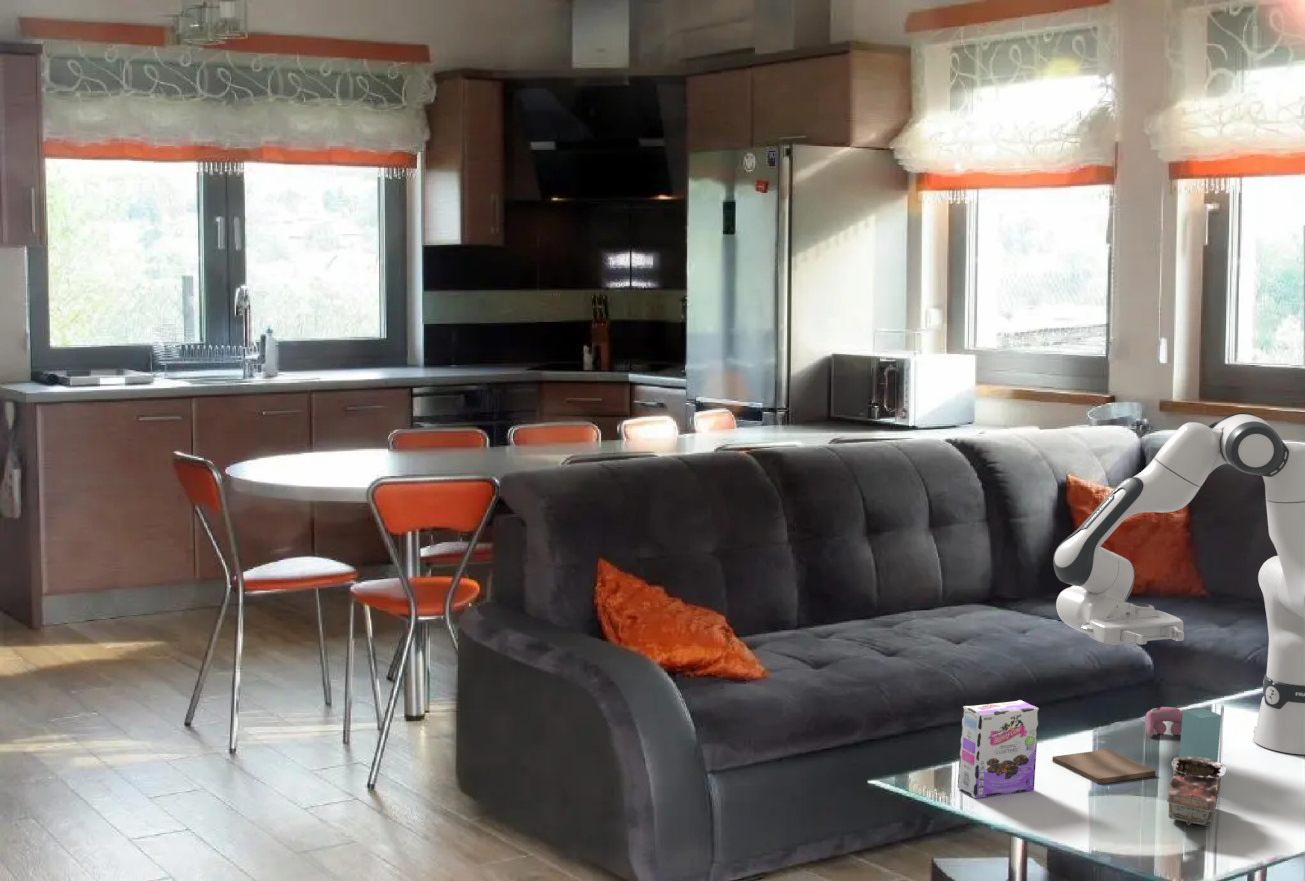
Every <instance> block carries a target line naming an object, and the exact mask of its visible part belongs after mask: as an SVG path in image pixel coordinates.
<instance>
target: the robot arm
mask: <svg viewBox="0 0 1305 881" xmlns="http://www.w3.org/2000/svg"><path fill="white" fill-rule="evenodd" d="M1226 464H1227V465H1230V466H1232V467H1233V468H1234V469H1236V470H1237V471H1240V472H1242V473H1246V474H1249V475H1256V476H1262V478H1263V479H1262V480H1263V483H1264V490H1265V505H1266V514H1267V515H1266V516H1267V517H1266V518H1267V526H1268V528H1267V529H1268V536H1269V538H1270V540H1271V543H1272V544H1273V546H1274V548H1275V550H1276V553H1277V555H1274V556H1272V557H1270V558H1268V559H1267V560H1266V561H1264V562H1263V564H1262V565H1261V567H1260V569H1259V571H1258V576H1257V580H1258V584H1259V588H1260V589H1261V592H1262V596H1263V601H1264V608H1265V613H1266V622H1267V632H1268V650H1267V664H1266V673H1265V674H1264V676H1263V679H1262V680H1263V682H1262V685H1263V686H1262V692H1263V697H1262V698H1261V703H1260V707H1259V712H1258V718H1257V723H1256V726H1254V727H1253V733H1254V734H1253V737H1252V741H1253V742H1254V743H1256V744H1257V745H1258V746H1261V747H1263V748H1266V749H1269V750H1271V751H1277V752H1281V753H1287V754H1292V755H1293V754H1294V755H1303V756H1304V755H1305V444H1303V443H1299V442H1298V443H1296V442H1287V443H1285V442H1284V441H1283V440H1282V438H1281V437H1280V435H1279V434H1278V433H1277V432H1276V431H1275V429H1273V427H1272V426H1271V425H1270V424H1269V423H1268V422H1267V421H1266V420H1264V419H1263V418H1260V417H1258V416H1257V415H1254V414H1252V413H1250V412H1242V411H1241V412H1236V413H1232V414H1229V415H1227V416H1225V417H1223V418H1222V419H1220V420H1218V421H1215V422H1213V423H1212V424H1210V425H1208V426H1207V425H1205V424H1204V423H1200V422H1196V421H1194V422H1193V421H1192V422H1190V421H1189V422H1186V423H1184V424H1182V425H1181V426H1180V427H1179V428H1178V429H1177V430H1176V431H1174V433H1173V434H1172V435H1171V436H1170V437H1169V438H1168V439H1167V440H1166V441H1165V443H1164V444H1163V445H1162V446H1161V448H1160V449H1159V450H1158V452H1156V454H1155V456H1154V457H1153V459H1152V460H1151V461H1150V462H1149V463H1148V464H1147V466H1146V467H1145V468H1144V469H1143V470H1141V472H1139V473H1137V474H1136V475H1134V476H1132V477H1127V478H1125V479H1124V480H1123V481H1121V482H1120V483H1119V484H1118V485H1116V487H1114V489H1112V491H1110V493H1109V494H1108V495H1107V496H1106V497H1105V498H1104V500H1102V501H1101V502H1100V504H1099V505H1098V506H1097V507H1096V508H1095V509H1094V511H1092V513H1091V514H1090V515H1089V516H1088V517H1087V518H1086V519H1085V520H1084V521H1083V522H1082V524H1081V525H1080V526H1079V527H1078V528H1077V529H1076V530H1074V532H1072V534H1070V535H1068V536H1067V538H1065V539H1064V540H1062V542H1060V543H1059V545H1058V546H1057V547H1056V549H1055V551H1054V553H1053V559H1052V560H1053V561H1052V562H1053V563H1052V564H1053V570H1054V572H1055V575H1056V577H1057V579H1058V580H1059V581H1060V582H1062V583H1065V584H1068V585H1071V586H1070V587H1066V588H1065V589H1063V590H1062V591H1061V592H1060V593H1059V594H1058V596H1057V598H1056V602H1055V603H1056V604H1055V608H1056V611H1057V614H1058V616H1059V619H1061V621H1062V622H1063V623H1064V624H1066V625H1067V626H1069V628H1072V629H1074V630H1076V631H1078V632H1080V633H1083V634H1085V635H1088V636H1089V638H1091V639H1092V640H1095V641H1097V642H1099V643H1101V644H1103V645H1116V646H1121V645H1124V644H1129V643H1132V644H1137V645H1139V646H1140V645H1146V644H1147V643H1148V642H1149V641H1161V640H1162V641H1163V640H1169V639H1172V640H1173V641H1175V642H1180V641H1184V640H1185V632H1184V621H1183V620H1182V619H1181V618H1179V617H1178V616H1175V615H1172V614H1170V613H1167V612H1165V611H1163V610H1158V609H1157V610H1156V609H1155V607H1154V606H1153V605H1151V604H1143V603H1131V602H1128V601H1127V600H1128V599H1129V597H1130V595H1131V593H1132V591H1133V588H1134V584H1135V578H1136V573H1135V569H1134V565H1133V564H1132V562H1131V561H1130V560H1129V559H1127V558H1126V557H1123V556H1122V555H1119V554H1117V553H1115V552H1113V551H1110V550H1108V549H1106V548H1104V547H1102V545H1103V544H1104V543H1105V541H1107V539H1108V538H1109V537H1110V536H1111V535H1112V534H1113V533H1114V531H1115V530H1117V528H1118V527H1119V526H1120V525H1121V524H1122V523H1123V521H1125V520H1126V519H1127V518H1129V517H1131V516H1133V515H1135V514H1142V513H1160V514H1162V513H1163V514H1164V513H1166V514H1167V513H1172V512H1176V511H1179V510H1181V509H1183V508H1185V507H1186V506H1187V505H1188V504H1189V503H1190V502H1192V500H1193V499H1194V498H1195V496H1196V495H1197V493H1198V492H1199V490H1200V489H1201V487H1202V486H1203V484H1204V483H1205V481H1206V480H1207V478H1208V477H1209V475H1210V474H1211V473H1212V472H1213V471H1215V470H1216V469H1217V468H1218V467H1220V466H1222V465H1226Z"/></svg>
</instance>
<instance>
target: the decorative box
mask: <svg viewBox="0 0 1305 881" xmlns="http://www.w3.org/2000/svg"><path fill="white" fill-rule="evenodd" d="M1171 767H1172V770H1173V772H1172V777H1171V780H1170V782H1169V785H1170V787H1169V789H1168V790H1167V791H1168V795H1167V796H1168V797H1167V800H1166V802H1167V803H1168V818H1169V819H1171V820H1176V821H1181V822H1185V823H1186V824H1187V826H1189V825H1191V824H1196V825H1201V826H1204V827H1211V826H1212V823H1213V820H1214V817H1215V813H1216V808H1217V804H1218V799H1219V793H1220V789H1221V783H1222V782H1221V780H1222V777H1223V776H1225V774H1226V770H1227V768H1226V765H1225V764H1223V763H1222V762H1220V761H1216V760H1211V759H1207V758H1201V757H1179V756H1177V757H1175V758H1173V760H1172V761H1171Z"/></svg>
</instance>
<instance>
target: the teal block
mask: <svg viewBox="0 0 1305 881" xmlns="http://www.w3.org/2000/svg"><path fill="white" fill-rule="evenodd" d="M1182 710H1183V714H1182V728H1181V733H1180V741H1179V742H1180V744H1179V756H1178V757H1201V758H1207V759H1211V760H1216V761H1218V760H1219V750H1220V749H1219V748H1220V737H1221V736H1220V735H1221V724H1222V722H1221V721H1222V715H1221V714H1219V713H1216V712H1215V711H1212V710H1209V709H1206V708H1204V707H1199V708H1192V709H1186V710H1185V709H1182ZM1218 762H1219V761H1218Z"/></svg>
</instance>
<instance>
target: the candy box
mask: <svg viewBox="0 0 1305 881" xmlns="http://www.w3.org/2000/svg"><path fill="white" fill-rule="evenodd" d="M1039 712H1040V708H1039V707H1037V706H1035V705H1032V703H1031V704H1030V703H1028V702H1026V701H1023V700H1022V699H1018V700H1013V701H1007V702H997V703H988V704H978V705H976V704H975V705H963V706H962V719H961V730H960V731H961V733H960V744H959V745H960V747H959V748H960V749H959V763H958V776H957V789H958V788H959V790H960V791H961V790H962V792H964V793H966V794H967V795H968V796H970V797H971V798H974V799H979V798H980V799H981V798H986V797H987V798H988V797H996V796H1002V795H1008V794H1009V795H1010V794H1016V793H1017V794H1018V793H1024V792H1025V793H1026V792H1031V791H1034V790H1035V778H1036V776H1035V775H1036V763H1037V744H1038V743H1037V742H1038V731H1039V729H1038V728H1039V716H1040V715H1039Z"/></svg>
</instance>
